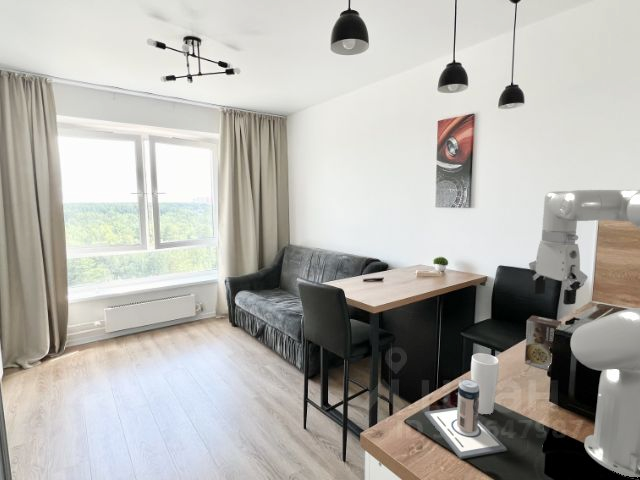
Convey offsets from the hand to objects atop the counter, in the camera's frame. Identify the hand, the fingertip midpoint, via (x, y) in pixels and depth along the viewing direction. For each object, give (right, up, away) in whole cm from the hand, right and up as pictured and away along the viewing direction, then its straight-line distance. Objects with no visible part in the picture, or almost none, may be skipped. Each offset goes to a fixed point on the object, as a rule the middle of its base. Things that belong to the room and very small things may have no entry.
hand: (553, 298), depth 95 cm
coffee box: (+12, -27, +25) cm, 39 cm away
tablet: (-29, -32, -8) cm, 44 cm away
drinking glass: (-20, -31, 0) cm, 37 cm away
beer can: (-28, -31, -8) cm, 43 cm away
